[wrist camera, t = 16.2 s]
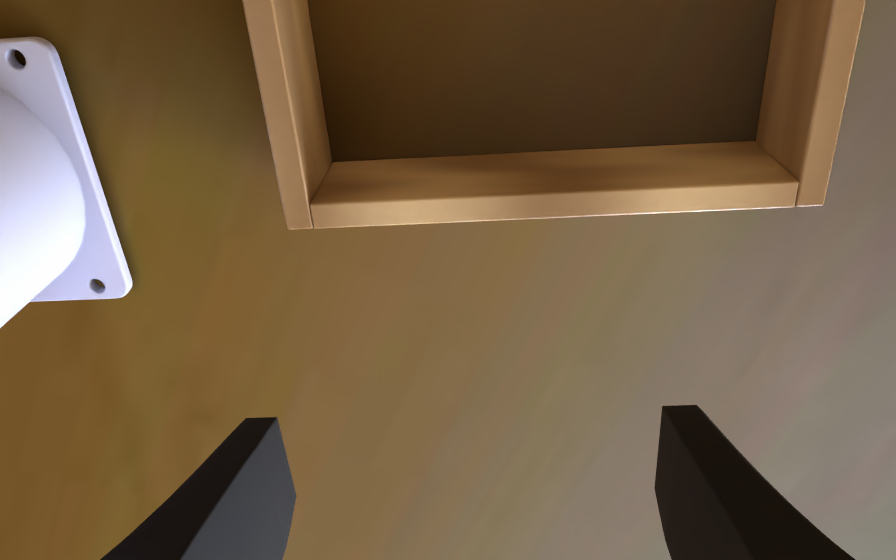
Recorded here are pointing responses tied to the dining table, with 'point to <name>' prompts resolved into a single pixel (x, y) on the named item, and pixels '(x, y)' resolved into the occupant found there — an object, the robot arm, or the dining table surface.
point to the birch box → (569, 171)
